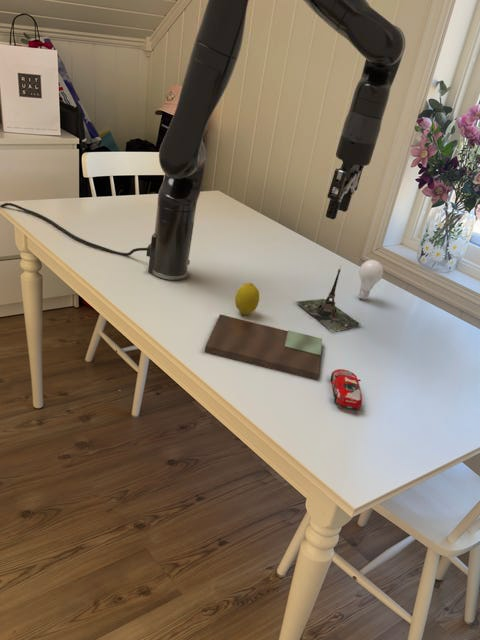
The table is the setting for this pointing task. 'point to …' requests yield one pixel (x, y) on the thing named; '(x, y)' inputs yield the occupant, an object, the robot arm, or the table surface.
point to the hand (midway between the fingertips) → (336, 214)
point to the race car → (346, 389)
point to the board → (266, 346)
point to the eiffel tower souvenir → (329, 311)
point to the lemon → (247, 298)
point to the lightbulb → (369, 277)
